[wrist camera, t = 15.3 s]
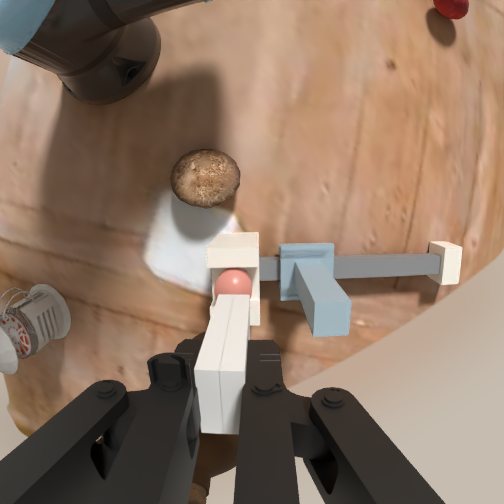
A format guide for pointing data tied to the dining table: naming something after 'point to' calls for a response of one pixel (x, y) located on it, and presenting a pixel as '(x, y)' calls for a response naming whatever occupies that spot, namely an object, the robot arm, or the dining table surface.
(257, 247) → the slide rail
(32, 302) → the french press
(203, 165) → the mushroom
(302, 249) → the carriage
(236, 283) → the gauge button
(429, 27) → the dining table surface
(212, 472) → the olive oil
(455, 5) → the onion
